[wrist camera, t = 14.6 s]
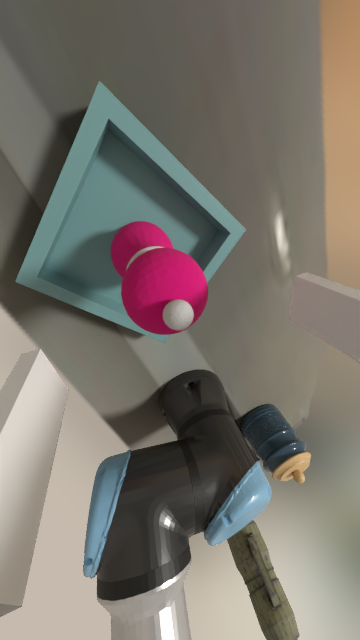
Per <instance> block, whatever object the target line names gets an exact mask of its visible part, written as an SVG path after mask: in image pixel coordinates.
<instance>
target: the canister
mask: <svg viewBox="0 0 360 640" xmlns="http://www.w3.org/2000/svg"><path fill="white" fill-rule="evenodd" d="M241 428H242V431H243V433H244V435H245V437H246V438H247V439H248V441H249V443H250V444H251V446H252V448H253V450H254V451H255V453H256V456H257V457H258V458H260V459H261V461H262V462H263V468H264V470H266V471H268V472H271V473H272V477H273V478H274V479H277V480H281V481H287V480H290V479H292V478H294V480H295V481H296V482H298V483H303V482H304V480H305V476H304V474H303V473H302V472H303V471H304V470H306V468H307V467H308V466H309V464H310V458H311V455H310V454H309V453H308V452H306V443H305V442H304V441H301V440H300V439H299V437H298V436H297V432H296V431H295V430H294V429H293V428H292V427H291V426H290V424H289V423H288V422H287V421H286V419H285V418H284V417H283V416H282V414H281V412H280V411H279V410H278V409H277V408H276V407H275V406H273V405H263V406H260V407H257V408H256V409H254V410H252V411H251V412H250V413H248V414H247V415H246V416H245V418H244V419H243V421H242V423H241Z"/></svg>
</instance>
